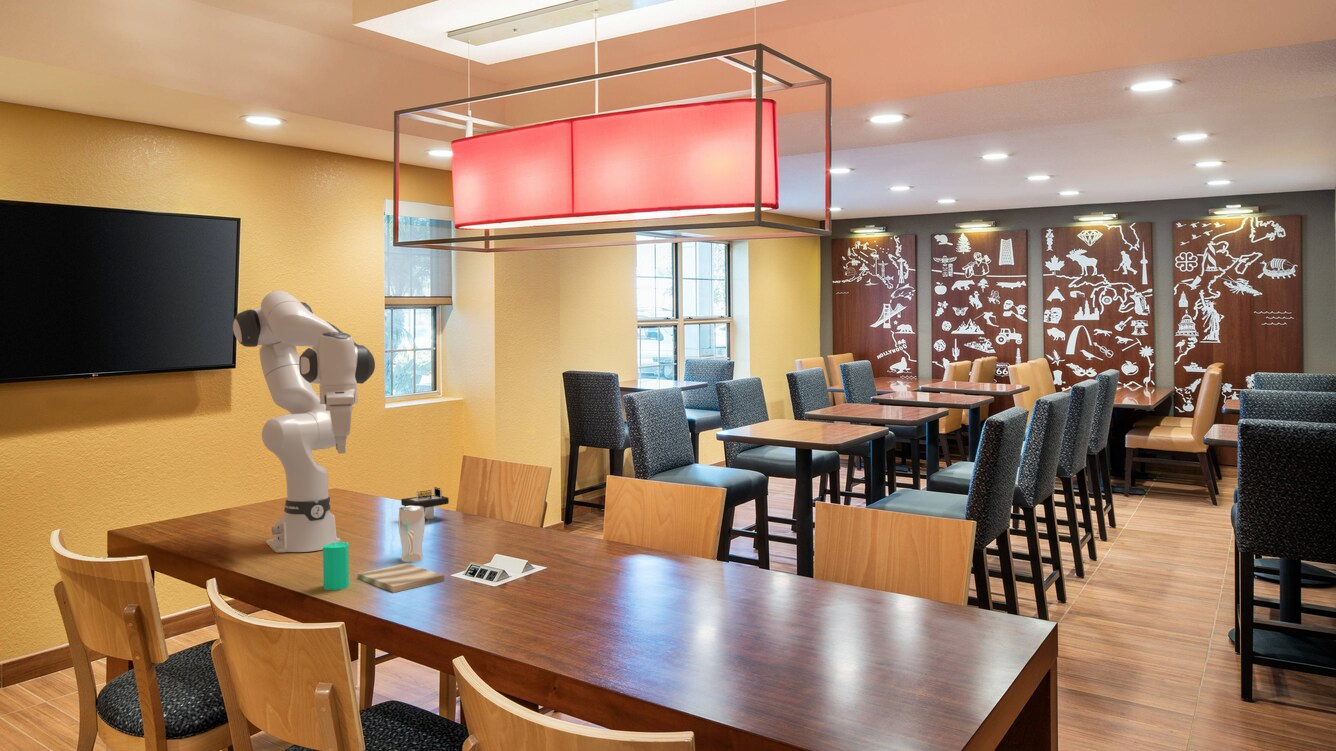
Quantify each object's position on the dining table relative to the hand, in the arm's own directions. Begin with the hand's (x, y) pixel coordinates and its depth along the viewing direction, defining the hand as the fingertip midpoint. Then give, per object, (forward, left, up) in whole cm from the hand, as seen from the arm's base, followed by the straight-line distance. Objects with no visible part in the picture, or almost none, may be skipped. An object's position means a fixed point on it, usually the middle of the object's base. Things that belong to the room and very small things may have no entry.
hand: (340, 451), depth 219 cm
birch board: (+9, +11, -33) cm, 36 cm away
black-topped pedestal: (-41, +49, -34) cm, 72 cm away
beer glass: (-6, +23, -33) cm, 41 cm away
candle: (+3, -3, -33) cm, 33 cm away
